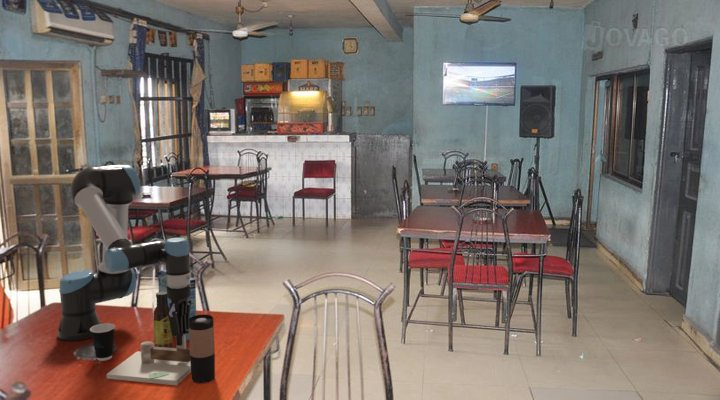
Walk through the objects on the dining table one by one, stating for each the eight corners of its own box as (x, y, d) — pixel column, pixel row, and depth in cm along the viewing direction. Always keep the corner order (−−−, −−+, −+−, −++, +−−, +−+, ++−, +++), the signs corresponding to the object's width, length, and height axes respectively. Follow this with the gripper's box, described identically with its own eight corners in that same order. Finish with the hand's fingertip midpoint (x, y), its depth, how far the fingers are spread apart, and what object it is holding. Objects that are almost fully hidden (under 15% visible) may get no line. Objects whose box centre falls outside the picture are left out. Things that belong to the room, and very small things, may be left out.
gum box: (159, 327, 231) (157, 271, 227) (171, 324, 234) (169, 268, 231) (186, 341, 218) (183, 281, 214) (198, 337, 221) (196, 278, 218)
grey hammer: (139, 362, 195) (138, 345, 194) (145, 357, 199) (144, 340, 198) (187, 367, 192) (186, 349, 191) (192, 361, 196) (191, 344, 195)
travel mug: (193, 373, 192) (191, 314, 189) (217, 372, 192) (215, 313, 189) (188, 384, 184) (186, 323, 181) (213, 383, 185) (211, 322, 182)
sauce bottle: (167, 350, 209) (164, 296, 206) (151, 349, 211) (148, 295, 208) (176, 343, 216) (174, 291, 213) (160, 342, 217) (158, 289, 214)
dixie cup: (116, 351, 208) (114, 321, 207) (117, 360, 201) (115, 329, 200) (91, 355, 205) (89, 325, 203) (92, 364, 198) (90, 333, 196)
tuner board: (105, 379, 187) (105, 374, 187) (137, 355, 205) (137, 350, 205) (176, 386, 183) (175, 380, 183) (202, 361, 201) (202, 356, 201)
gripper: (179, 291, 187) (183, 362, 191) (198, 280, 200) (200, 346, 204) (158, 290, 188) (161, 360, 192) (177, 278, 201) (180, 344, 205)
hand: (181, 353), depth 198 cm, fingers closed
